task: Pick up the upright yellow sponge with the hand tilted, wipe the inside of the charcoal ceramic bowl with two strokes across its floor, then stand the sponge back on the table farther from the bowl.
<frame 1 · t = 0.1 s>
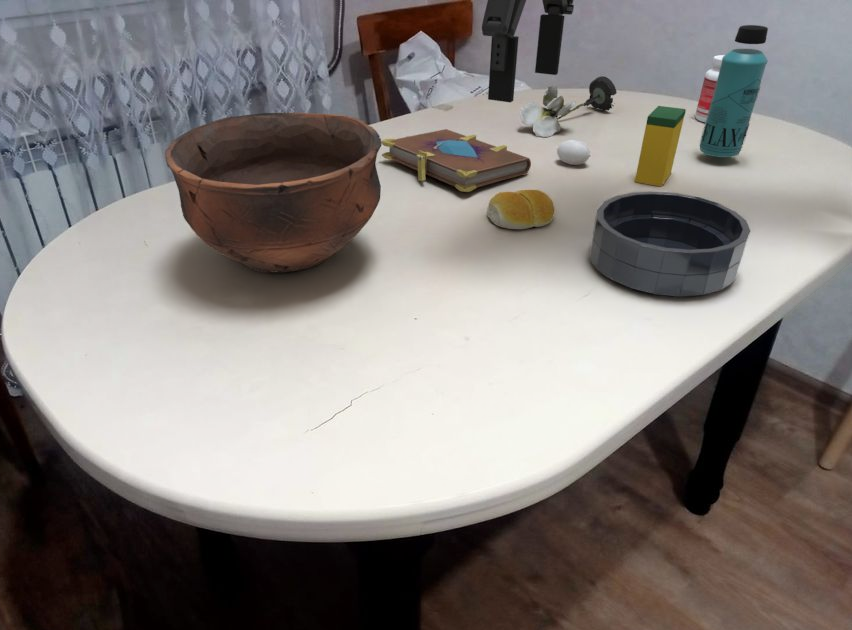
hand: (524, 86, 77), 19 cm above the table, tool pointing down, fingers open, 13 cm apart
artificial flower: (569, 123, 126), on the table
bowl: (287, 258, 84), on the table
sponge: (652, 178, 102), on the table
wash bowl: (659, 265, 80), on the table
book: (443, 167, 109), on the table
beverage bottle: (716, 160, 108), on the table
pill bottle: (711, 120, 125), on the table
egg: (571, 165, 108), on the table
bread roll: (519, 220, 92), on the table
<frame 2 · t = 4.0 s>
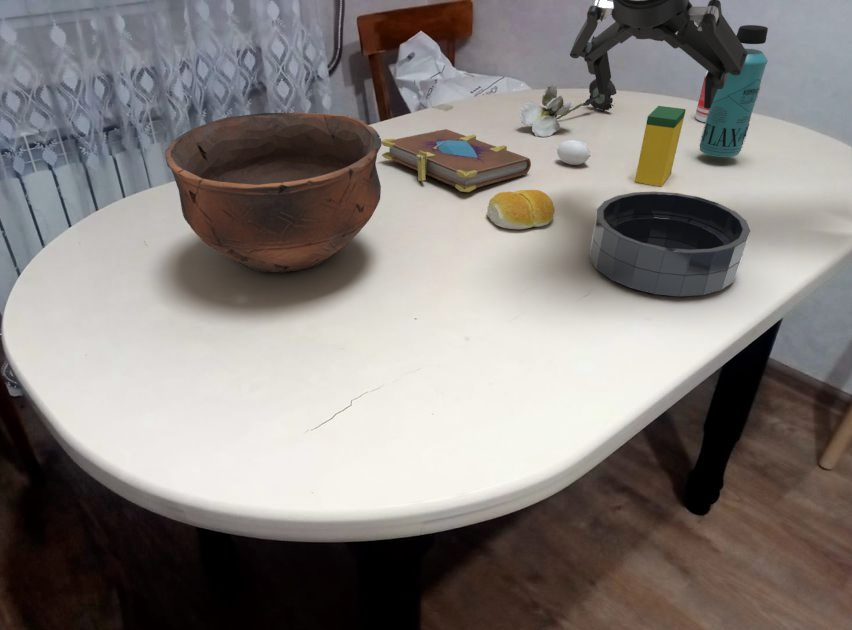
hand: (656, 92, 87), 15 cm above the table, tool tilted 45°, fingers open, 13 cm apart
nothing on the table moved.
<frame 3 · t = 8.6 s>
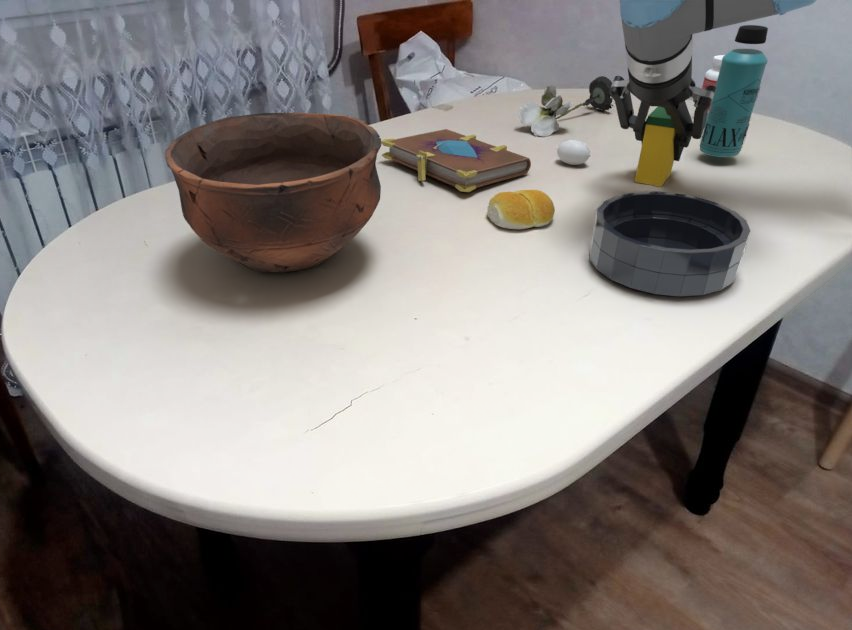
hand: (663, 150, 103), 3 cm above the table, tool tilted 45°, fingers closed on sponge, 4 cm apart
sponge: (652, 178, 102), on the table, touching gripper
everything else where it was.
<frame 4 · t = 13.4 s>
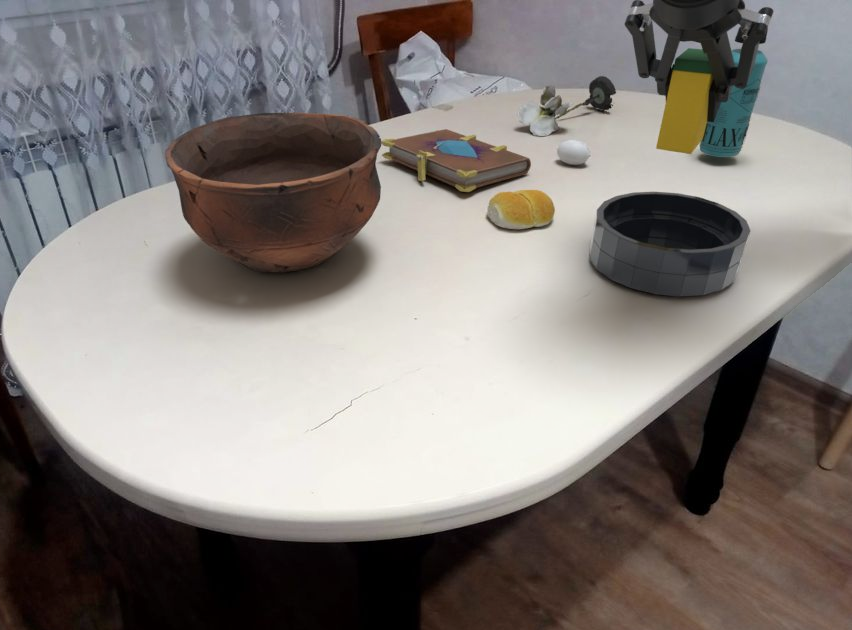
hand: (693, 108, 79), 15 cm above the table, tool tilted 45°, fingers closed on sponge, 4 cm apart
sponge: (679, 144, 79), point 12 cm above the table, touching gripper
everything else where it was.
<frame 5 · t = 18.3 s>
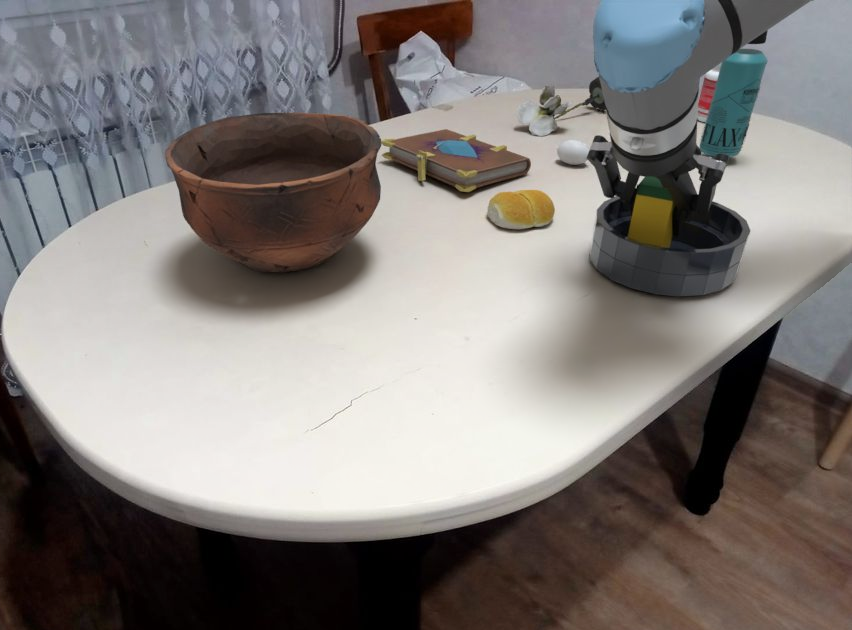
hand: (659, 221, 81), 4 cm above the table, tool tilted 45°, fingers closed on sponge, 4 cm apart
sponge: (645, 257, 80), point 1 cm above the table, touching gripper, wash bowl
everything else where it was.
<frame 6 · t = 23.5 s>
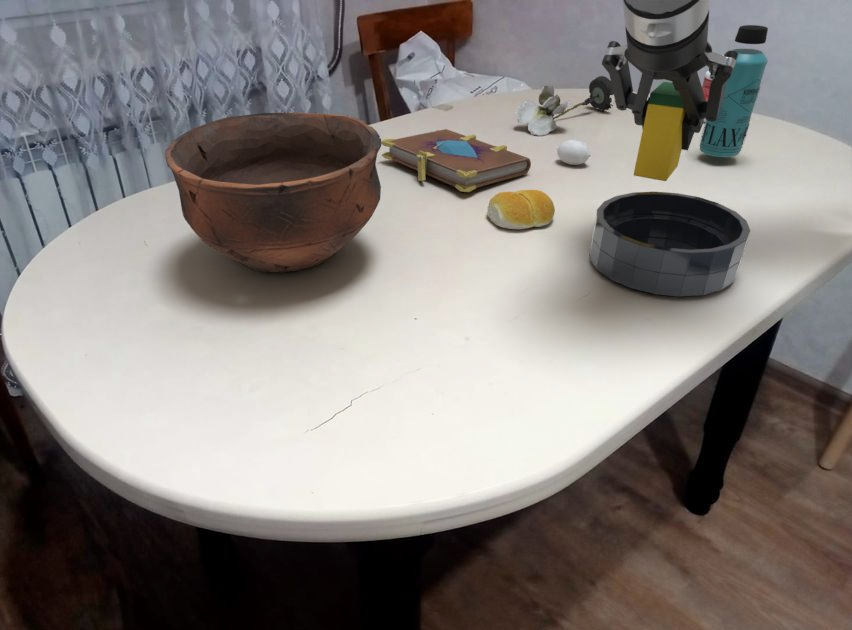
hand: (668, 137, 84), 11 cm above the table, tool tilted 45°, fingers closed on sponge, 4 cm apart
sponge: (655, 171, 84), point 8 cm above the table, touching gripper
everything else where it was.
when the fingers open (3 cm above the table, at t = 28.0 s): sponge stays where it is, on the table.
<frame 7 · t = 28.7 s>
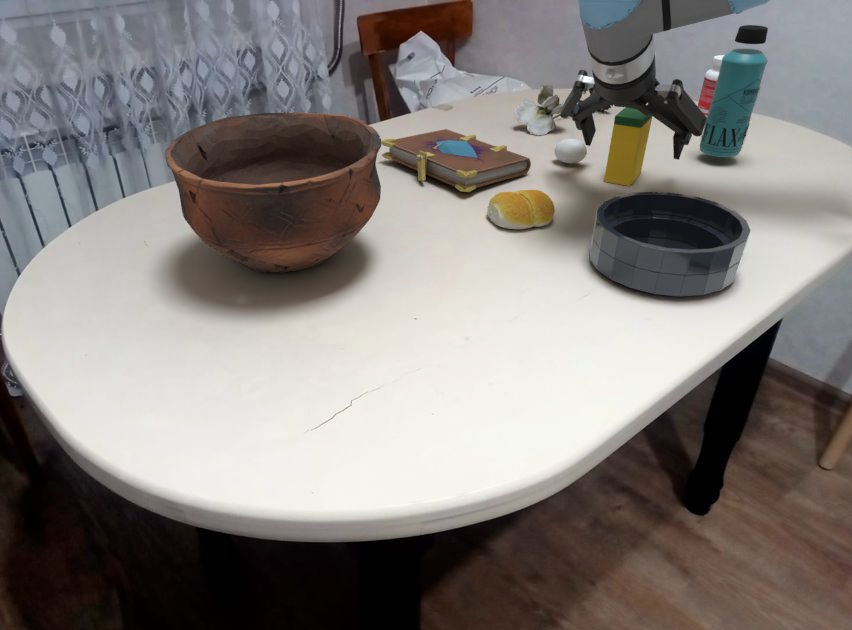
hand: (633, 144, 102), 5 cm above the table, tool tilted 45°, fingers open, 13 cm apart
sponge: (622, 177, 103), on the table
egg: (569, 163, 108), on the table, touching gripper
everything else where it was.
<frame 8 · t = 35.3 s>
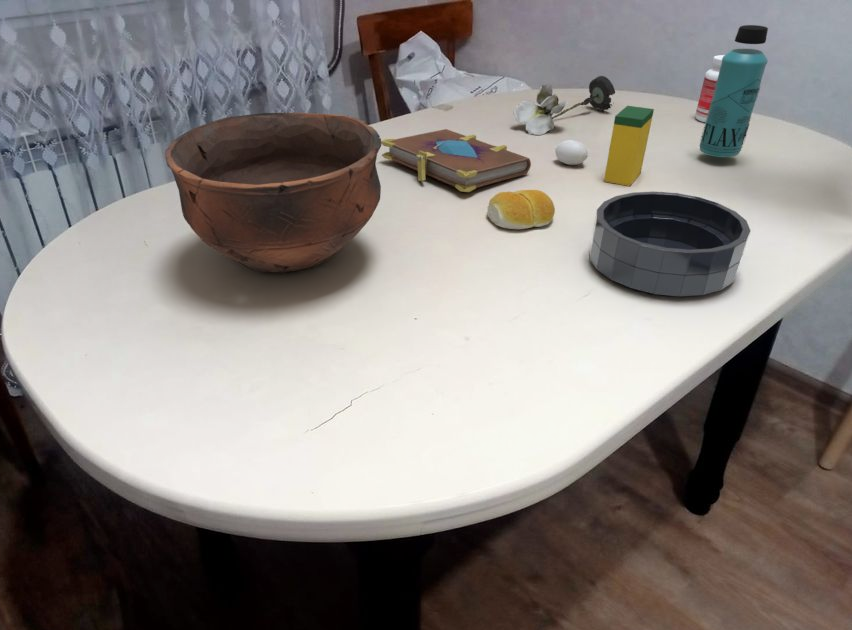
egg: (569, 165, 108), on the table
at the end: sponge inside the target area on the table beside the wash bowl (0.1 cm from its centre), on the table; sponge tilted 0°; the gripper is holding nothing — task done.
